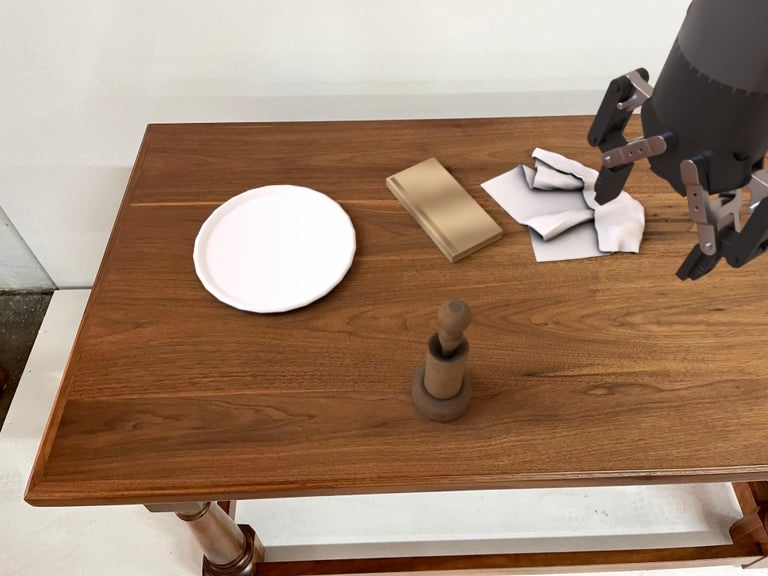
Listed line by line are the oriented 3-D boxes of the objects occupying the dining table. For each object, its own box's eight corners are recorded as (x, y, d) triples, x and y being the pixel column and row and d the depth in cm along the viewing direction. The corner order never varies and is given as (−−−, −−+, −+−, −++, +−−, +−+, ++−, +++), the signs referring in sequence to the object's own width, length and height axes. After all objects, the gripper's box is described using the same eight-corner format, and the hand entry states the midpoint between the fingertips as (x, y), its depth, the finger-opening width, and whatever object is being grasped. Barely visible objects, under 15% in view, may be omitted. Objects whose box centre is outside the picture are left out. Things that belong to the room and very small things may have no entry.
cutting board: (501, 237, 79) (503, 230, 78) (451, 263, 77) (453, 256, 75) (433, 164, 87) (433, 156, 85) (385, 185, 84) (385, 177, 83)
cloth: (659, 264, 77) (666, 252, 75) (487, 261, 77) (490, 249, 75) (626, 152, 88) (632, 139, 86) (476, 150, 88) (479, 137, 86)
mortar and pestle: (398, 391, 67) (402, 304, 52) (440, 356, 69) (455, 264, 54) (440, 434, 64) (457, 355, 49) (482, 396, 66) (510, 310, 52)
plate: (197, 330, 71) (194, 325, 70) (193, 201, 83) (191, 195, 82) (369, 301, 73) (369, 295, 72) (343, 180, 85) (342, 173, 84)
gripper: (918, 93, 30) (753, 279, 44) (698, -35, 37) (615, 160, 50) (822, 147, 28) (680, 325, 41) (608, 1, 35) (545, 194, 48)
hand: (644, 234), depth 46 cm, fingers open, 8 cm apart
